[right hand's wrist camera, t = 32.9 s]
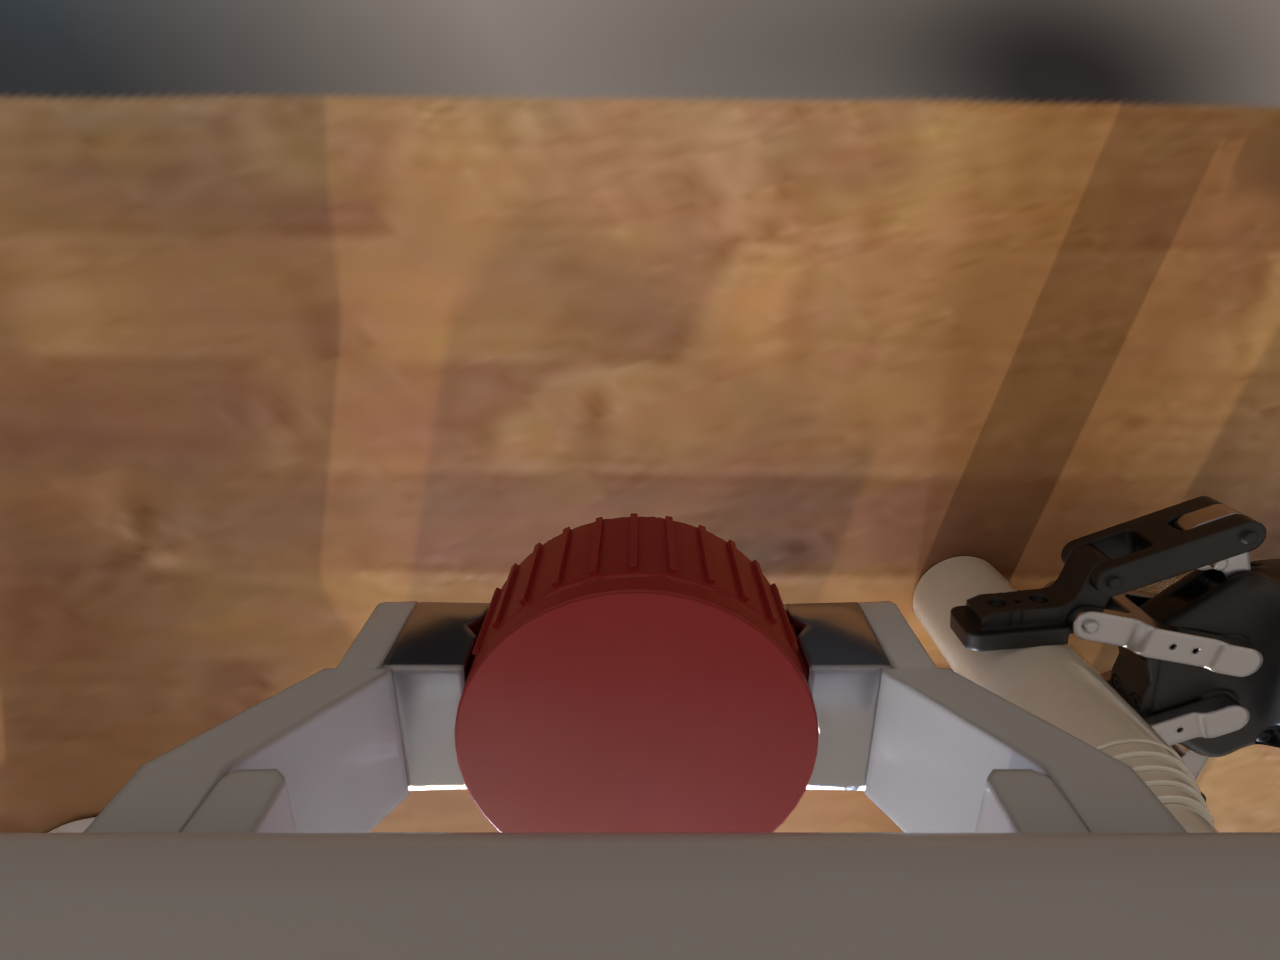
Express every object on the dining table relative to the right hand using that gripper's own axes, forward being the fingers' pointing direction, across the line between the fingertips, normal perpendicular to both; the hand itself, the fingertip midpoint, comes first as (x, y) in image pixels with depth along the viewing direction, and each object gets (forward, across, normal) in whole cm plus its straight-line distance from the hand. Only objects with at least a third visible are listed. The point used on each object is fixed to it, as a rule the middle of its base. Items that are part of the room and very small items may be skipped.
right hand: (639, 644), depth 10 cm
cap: (-2, 0, 0) cm, 2 cm away
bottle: (+22, +15, -12) cm, 30 cm away
